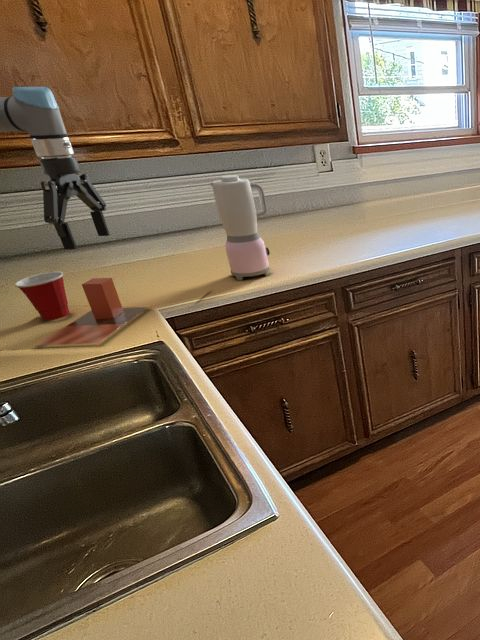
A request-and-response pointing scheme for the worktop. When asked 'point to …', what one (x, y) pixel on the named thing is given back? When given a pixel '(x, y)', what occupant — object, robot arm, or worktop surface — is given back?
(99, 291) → the terracotta block
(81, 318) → the sorting board
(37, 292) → the plastic cup
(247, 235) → the blender
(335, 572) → the worktop surface
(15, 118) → the robot arm
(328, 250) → the worktop surface
